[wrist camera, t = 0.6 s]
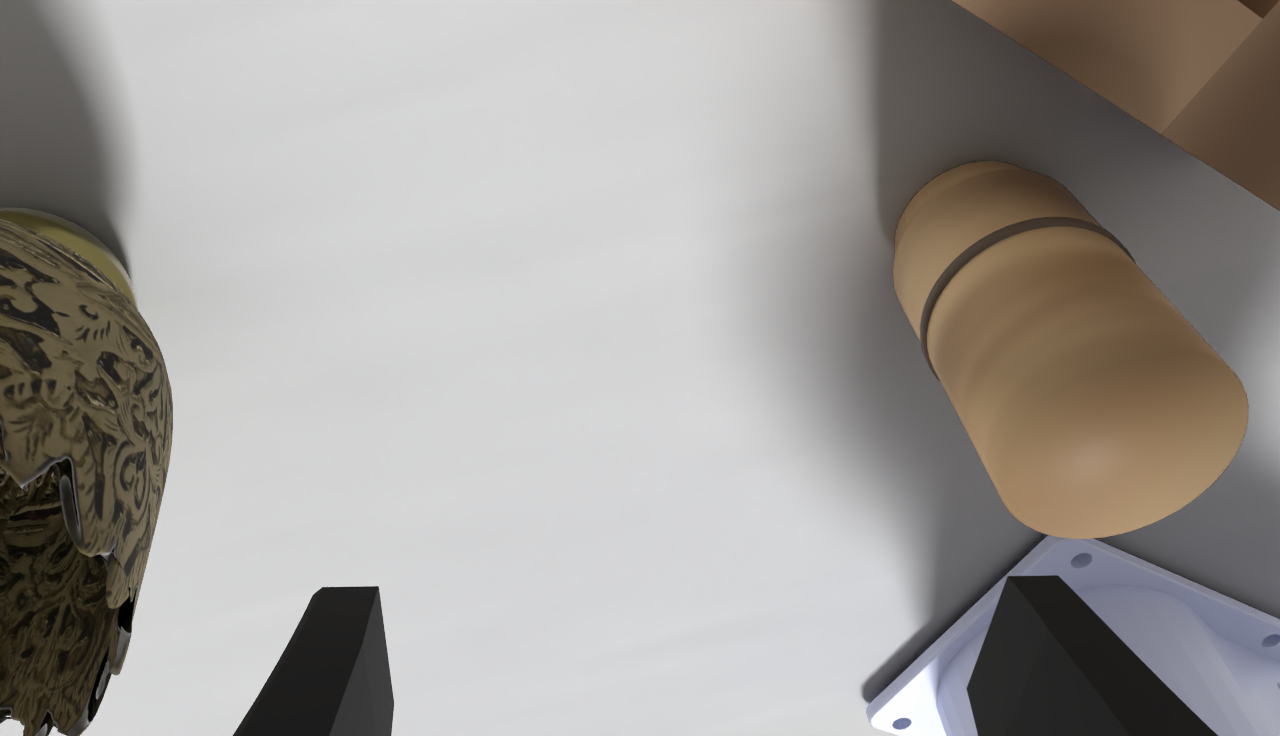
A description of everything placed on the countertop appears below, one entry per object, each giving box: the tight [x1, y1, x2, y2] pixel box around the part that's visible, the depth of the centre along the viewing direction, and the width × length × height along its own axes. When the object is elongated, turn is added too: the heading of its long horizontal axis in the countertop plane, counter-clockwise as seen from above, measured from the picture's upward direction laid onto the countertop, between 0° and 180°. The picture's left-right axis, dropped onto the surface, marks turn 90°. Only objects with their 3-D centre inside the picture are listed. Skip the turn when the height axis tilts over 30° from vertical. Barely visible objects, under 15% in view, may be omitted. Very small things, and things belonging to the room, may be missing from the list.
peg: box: [893, 161, 1248, 539], centre depth 18 cm, size 4×4×6 cm
